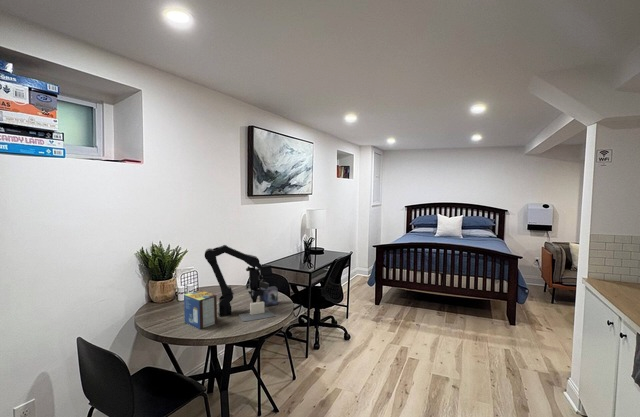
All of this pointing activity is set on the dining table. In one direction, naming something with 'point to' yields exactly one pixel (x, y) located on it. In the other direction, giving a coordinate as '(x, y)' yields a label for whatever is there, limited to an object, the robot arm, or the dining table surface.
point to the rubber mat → (256, 316)
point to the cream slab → (257, 308)
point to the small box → (269, 296)
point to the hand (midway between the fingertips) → (254, 303)
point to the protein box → (200, 309)
